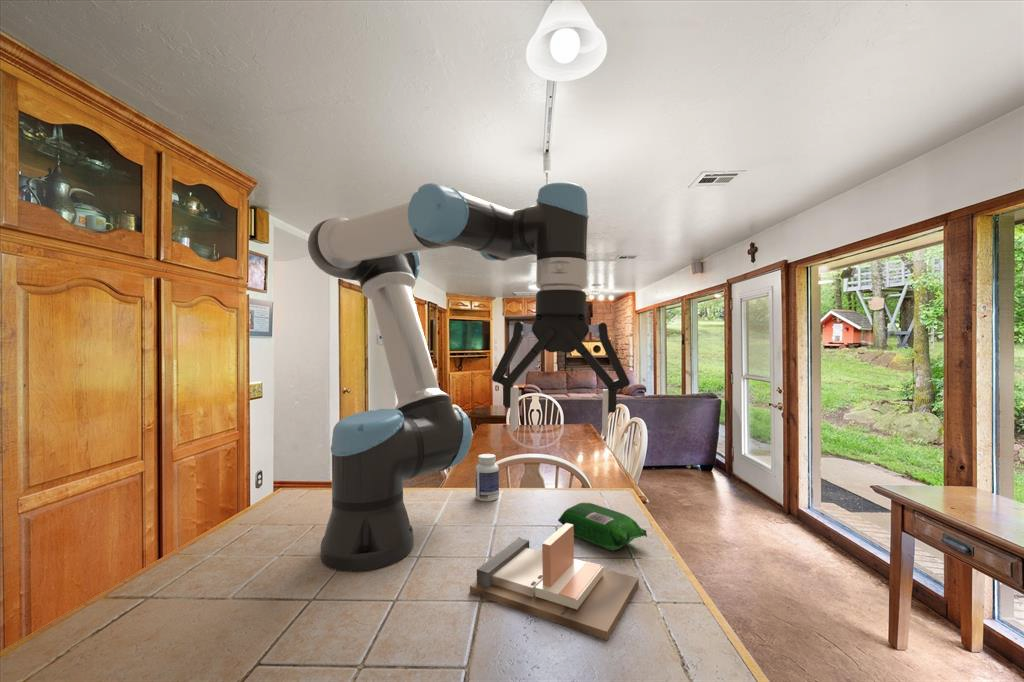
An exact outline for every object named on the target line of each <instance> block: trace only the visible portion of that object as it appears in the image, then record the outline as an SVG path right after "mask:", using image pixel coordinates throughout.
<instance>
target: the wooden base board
mask: <svg viewBox="0 0 1024 682" xmlns="http://www.w3.org/2000/svg"><path fill="white" fill-rule="evenodd" d="M542 580H543V569H542V551H539V550H537V549H533V548H530V540H529V539H525V538H521V537H518V538H517V539H515V540H514V541H513V542H511V543H510V544H508V545H507V546H506V547H504V548H503V549H502V550H500V551H499V552H498V553H497V554H495V555H494V556H492V557H491V558H490V559H488V560H487V561H486V562H484V563H483V564H482V565H481V566H479V567H478V568H477V569H476V580H475V581H474V582H473V583H471V584H470V585H469V593H470V594H471V595H475V596H478V597H480V598H484V599H486V600H489V601H492V602H495V603H498V604H500V605H503V606H506V607H508V608H512V609H515V610H518V611H520V612H523V613H527V614H529V615H533V616H535V617H538V618H542V619H544V620H547V621H551V622H552V623H555V624H559V625H562V626H565V627H567V628H571V629H574V630H576V631H579V632H582V633H584V634H588V635H590V636H594V637H596V638H600V639H602V640H605V641H608V640H609V638H610V637H611V634H612V633H613V631H614V629H615V627H616V625H617V624H618V622H619V620H620V618H621V616H622V615H623V613H624V612H625V610H626V608H627V607H628V605H629V603H630V602H631V599H632V597H634V594H635V592H636V590H637V588H638V586H639V584H640V583H639V577H636V576H633V575H629V574H628V575H627V574H625V573H621V572H617V571H614V570H609V569H605V568H603V576H602V577H601V578H600V580H599V581H598V582H597V584H596V585H595V586H594V588H593V589H592V590H591V592H590V593H589V594H588V596H587V597H586V598H585V600H584V601H583V603H582V604H581V605H580V607H579V608H578V609H573V608H570V607H567V606H564V605H561V604H558V603H555V602H552V601H548V600H545V599H542V598H539V597H536V596H535V587H536V586H537V585H538V584H539V583H540V582H541V581H542Z"/></svg>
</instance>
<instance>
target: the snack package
mask: <svg viewBox="0 0 1024 682" xmlns="http://www.w3.org/2000/svg"><path fill="white" fill-rule="evenodd" d="M557 521H558V522H559V523H560V524H561V525H562V526H563V525H564V524H566V523H569V524H573V525H574V537H576V538H578V539H582V540H584V541H586V542H588V543H591V544H592V545H593V544H594V545H595V546H598V547H601V548H604V549H606V550H609V551H617V550H618V549H620V548H621V547H623V546H625V545H627V544H628V543H630V542H632V541H634V540H635V539H637V538H638V539H639V538H641V537H648V534H647V529H643V528H642V527H640V525H639V524H638V523H637V522H636V521H635V520H634V519H633V518H632V517H630V516H628V515H626V514H624V513H622V512H618V511H615V510H612V509H610V508H608V507H603V506H600V505H599V504H594V503H593V502H592V503H591V502H580V503H577V504H574V505H572V506H571V507H568V508H567V509H566V510H564V511H563V513H562V514H561V515H560V517H559V518H558V519H557Z"/></svg>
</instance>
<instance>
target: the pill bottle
mask: <svg viewBox="0 0 1024 682" xmlns="http://www.w3.org/2000/svg"><path fill="white" fill-rule="evenodd" d="M477 459H478V461H477V462H478V464H477V465H476V466H475V468H474V469H475V498H476V500H478V501H481V502H492V501H495V500H496V501H497V500H498V499H499V497H500V489H499V488H500V486H499V485H500V482H499V481H500V469H499V468H500V467H499V465H498V464H497V463H496V459H497V457H496V455H495V454H493V453H483V454H479V455H478V458H477Z"/></svg>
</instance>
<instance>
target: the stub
mask: <svg viewBox="0 0 1024 682" xmlns="http://www.w3.org/2000/svg"><path fill="white" fill-rule="evenodd" d="M574 540H575V536H574V525H573V524H569V523H566V524H564V525H562V526H561V527H559V529H557V530H556V531H555V532H553V534H551V535H550V536H549V537H548V538H547V539H546V540H544V541H543V542H542V545H541V546H542V551H541V552H542V569H543V580H542V581H541V582H540V583H539V584H538V585H537V586H536V587H535V596H536V597H539V598H542V599H545V600H548V601H552V602H555V603H558V604H561V605H564V606H567V607H570V608H573V609H578V608H579V607H580V605H581V604H582V603H583V601H584V600H585V598H586V597H587V596H588V594H589V593H590V592H591V590H592V589H593V588H594V586H595V585H596V584H597V582H598V581H599V580H600V578H601V577H602V576H603V569H604V566H603V565H602V564H598V563H594V562H591V561H584V560H580V559H576V558H575V541H574Z"/></svg>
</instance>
